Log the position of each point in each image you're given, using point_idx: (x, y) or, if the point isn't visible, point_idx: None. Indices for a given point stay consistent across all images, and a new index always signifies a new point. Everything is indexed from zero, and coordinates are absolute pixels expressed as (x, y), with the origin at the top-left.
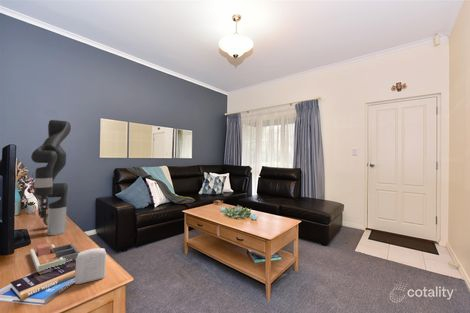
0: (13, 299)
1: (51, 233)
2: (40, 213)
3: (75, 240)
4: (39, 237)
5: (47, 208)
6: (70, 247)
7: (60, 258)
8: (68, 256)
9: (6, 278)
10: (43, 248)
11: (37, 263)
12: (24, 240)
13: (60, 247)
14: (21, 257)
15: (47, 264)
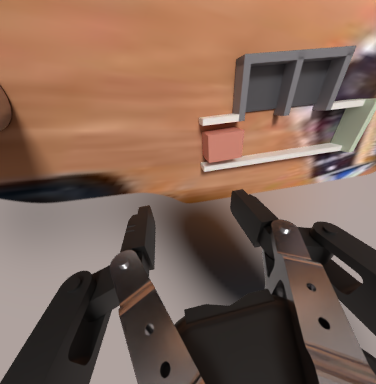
0: (364, 168)
1: (3, 118)
2: (153, 229)
3: (147, 21)
4: (31, 156)
5: (337, 229)
6: (253, 65)
7: (336, 107)
8: (337, 85)
9: (292, 185)
10: (241, 146)
11: (312, 152)
12: (57, 190)
13: (245, 99)
14: (210, 179)
15: (358, 137)
